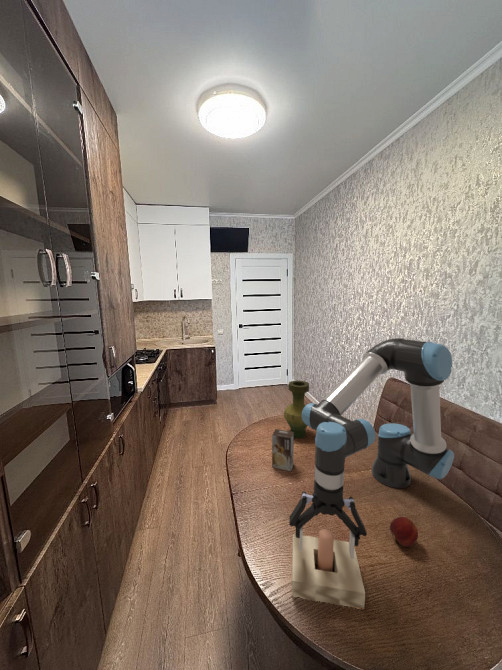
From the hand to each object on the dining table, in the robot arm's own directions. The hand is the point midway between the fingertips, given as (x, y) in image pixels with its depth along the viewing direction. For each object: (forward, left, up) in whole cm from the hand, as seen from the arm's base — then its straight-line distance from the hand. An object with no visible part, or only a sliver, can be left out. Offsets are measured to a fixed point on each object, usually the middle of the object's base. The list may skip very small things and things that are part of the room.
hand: (325, 550), depth 74 cm
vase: (+7, -78, -8) cm, 79 cm away
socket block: (0, 0, -8) cm, 8 cm away
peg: (0, 0, -8) cm, 8 cm away
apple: (-26, -15, -8) cm, 31 cm away
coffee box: (+14, -48, -8) cm, 51 cm away
